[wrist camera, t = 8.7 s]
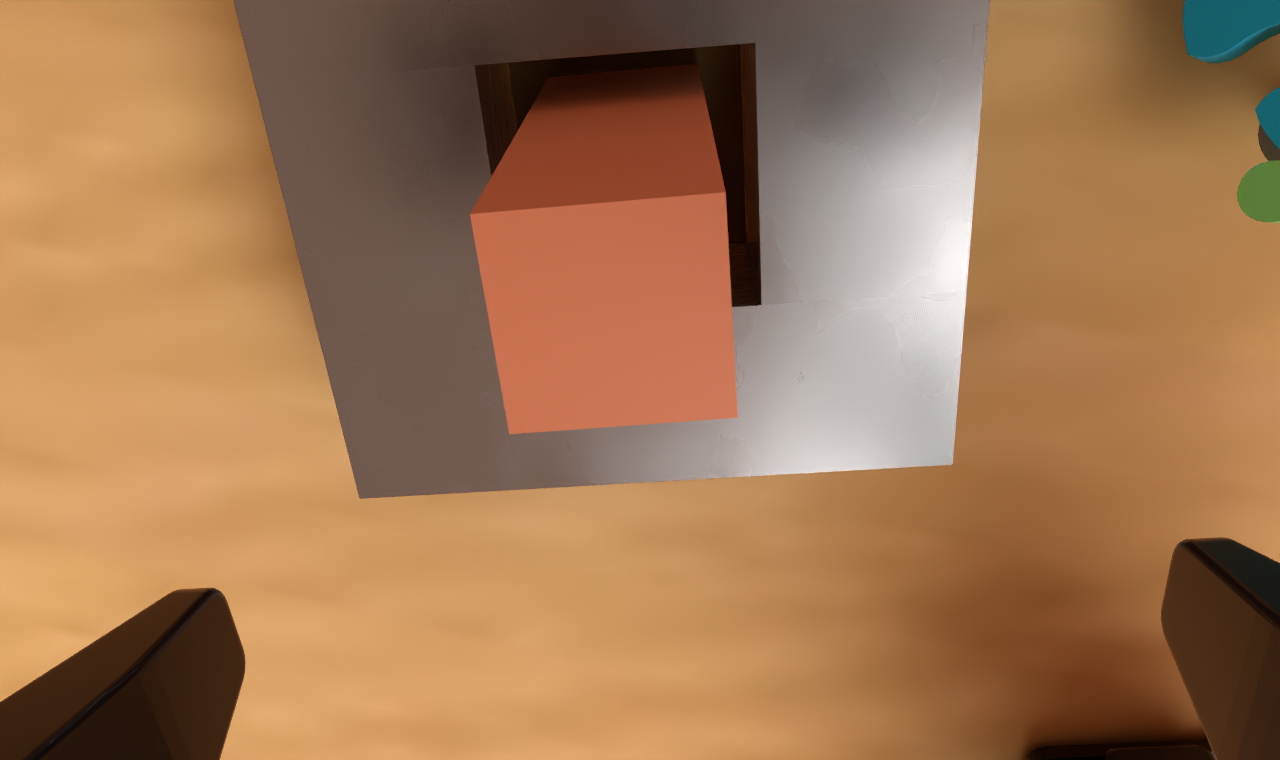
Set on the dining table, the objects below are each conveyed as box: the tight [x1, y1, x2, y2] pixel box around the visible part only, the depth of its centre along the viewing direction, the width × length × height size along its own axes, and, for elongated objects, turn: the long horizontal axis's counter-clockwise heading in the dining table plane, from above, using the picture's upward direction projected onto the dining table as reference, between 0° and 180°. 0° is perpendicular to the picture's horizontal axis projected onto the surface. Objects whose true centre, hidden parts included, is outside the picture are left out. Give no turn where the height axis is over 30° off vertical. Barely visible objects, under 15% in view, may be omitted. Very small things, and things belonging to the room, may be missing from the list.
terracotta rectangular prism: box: [470, 64, 738, 434], centre depth 16 cm, size 3×3×9 cm
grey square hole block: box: [233, 0, 990, 499], centre depth 18 cm, size 12×12×4 cm
